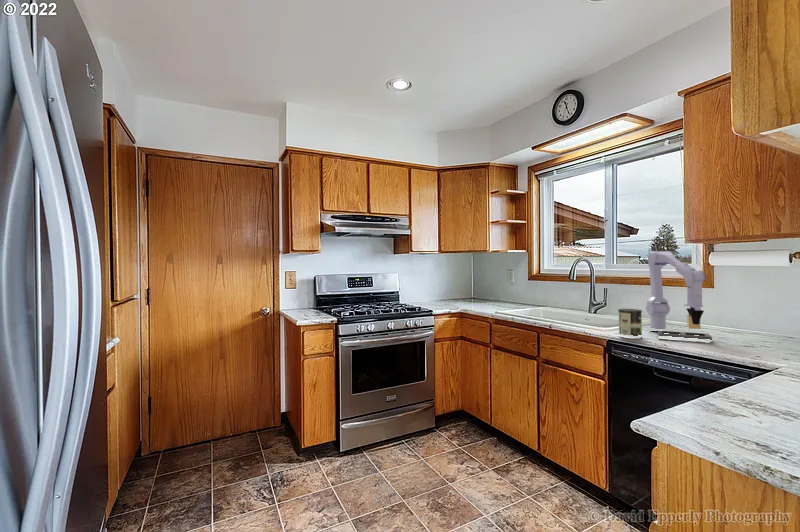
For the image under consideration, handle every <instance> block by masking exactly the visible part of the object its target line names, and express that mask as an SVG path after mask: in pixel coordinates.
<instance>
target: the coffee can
mask: <svg viewBox="0 0 800 532" xmlns="http://www.w3.org/2000/svg"><path fill="white" fill-rule="evenodd" d="M642 311H643V310H641V309H638V308H637V309H636V308H618V334H619V333H620V334H623V335H633V336H638V335H642V336H643V332H642V330H643V328H642V327H643V326H642V321H643V320H642V318H643V317H642Z"/></svg>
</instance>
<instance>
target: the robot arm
mask: <svg viewBox="0 0 800 532" xmlns="http://www.w3.org/2000/svg"><path fill="white" fill-rule="evenodd" d="M647 262H648V268H649V278H650V279H649V281H650V292H651V293H650V294H651V297H650V298H649V299H648V300H646V307H645V310H646V313H648V315H649V321H650V322H649V324H650V325H649V328H655V329H665V328H666V329H667V316H668V314H669V313H670V311H671V309H670V305H669V301H668V300H667V299H666V298H664V292H663V289H664V288H663V278H662V268H663V267H666V266H667V265H670V266H672V267H673V268H675V271H676V273H678V274H679V275H681V276H682V277H683V280H684V282H685V286H686V288H687V289H686V290H687V292H686V293H687V294H686V295H687V296H686V297H687V304H685V303H684V306H685V307H687V308H685V309H686V311H687V314H688V315H691V316H692V321H693V324H695V325H699V323H700V324H701V318H702V315H703V314H704V312H705V311H704V310H703V309H702V308H703V307H704V305H703V283H704V281H705V280H706V274H705V273H704V271H703V270H697V269H695V267H693V266H692V265H689V263H688V262H681V261H680V260H679V259H678V258H676V257H675V256H674V253H673V252H671V250H670V251H669V250H667V251H665V250H664V251H651V252H649V254H648V255H647ZM688 307H689V308H688Z"/></svg>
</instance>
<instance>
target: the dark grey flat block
mask: <svg viewBox="0 0 800 532" xmlns="http://www.w3.org/2000/svg"><path fill="white" fill-rule="evenodd" d="M664 333H669V334H664ZM658 334H659V336H672V337H684V338H698V339H710V340H712V341H713V336H712V335H711V334H709V333H703V332H689V331H688V332H686V331H673V330H672V331H671V330H667V331H658V332H657V335H658ZM679 334H680V335H679ZM694 335H699V336H694Z"/></svg>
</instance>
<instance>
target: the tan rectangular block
mask: <svg viewBox="0 0 800 532" xmlns="http://www.w3.org/2000/svg"><path fill="white" fill-rule="evenodd" d="M686 326H687V329H689V330H691V329H692V330H693V329H694V330H695V329H698V330H701V326H702V325H701V322H700V323H699V325H695V324H693V321H692V316H691V315H689V314H686Z"/></svg>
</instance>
